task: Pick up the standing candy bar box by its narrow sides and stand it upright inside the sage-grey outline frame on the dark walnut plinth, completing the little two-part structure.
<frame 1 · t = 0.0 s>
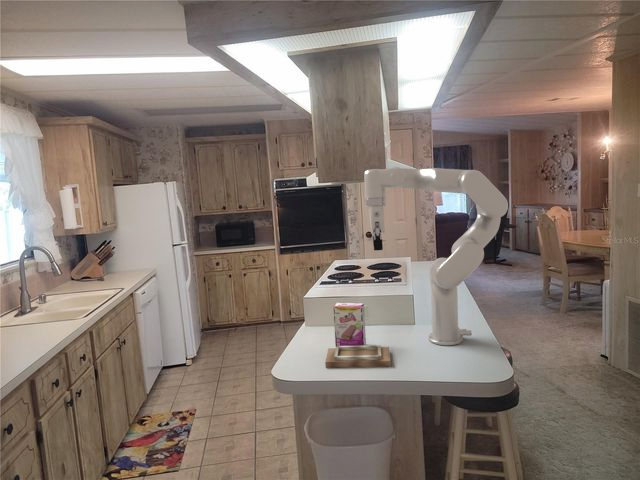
hand: (377, 248, 163), 37 cm above the countertop, tool pointing down, fingers open, 9 cm apart
walnut plinth: (358, 359, 152), on the countertop
candy bar box: (351, 346, 165), on the countertop
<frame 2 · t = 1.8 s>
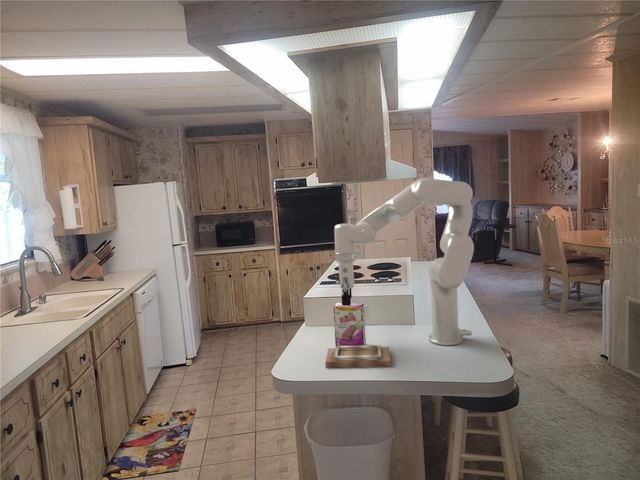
hand: (346, 301, 163), 18 cm above the countertop, tool pointing down, fingers open, 9 cm apart
nothing on the countertop moved.
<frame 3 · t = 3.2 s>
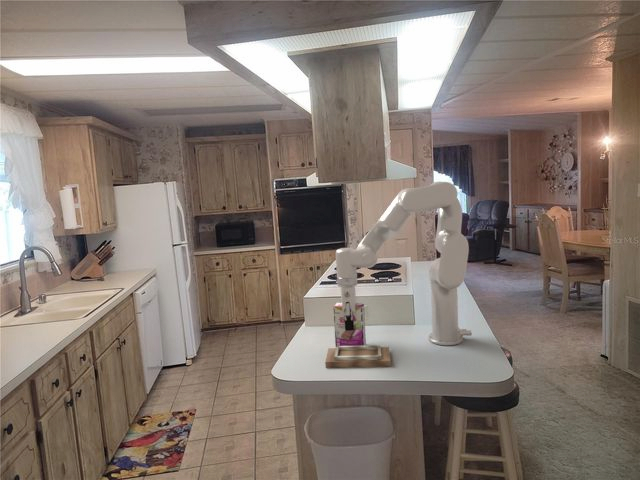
hand: (349, 326, 164), 8 cm above the countertop, tool pointing down, fingers closed on candy bar box, 5 cm apart
candy bar box: (351, 346, 165), on the countertop, touching gripper
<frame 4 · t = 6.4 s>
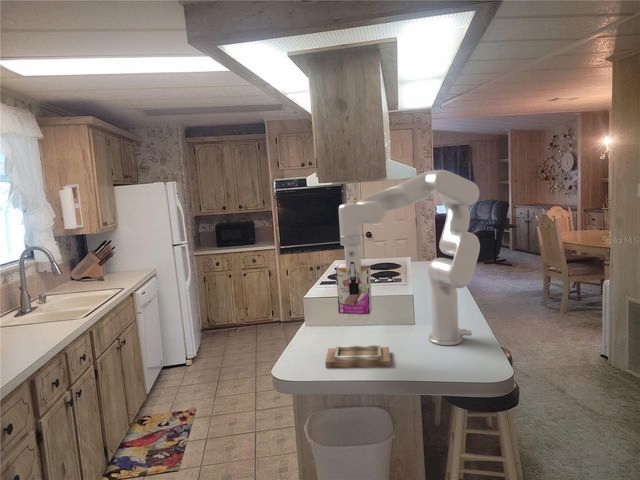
hand: (354, 291, 149), 25 cm above the countertop, tool pointing down, fingers closed on candy bar box, 5 cm apart
candy bar box: (355, 313, 150), point 17 cm above the countertop, touching gripper
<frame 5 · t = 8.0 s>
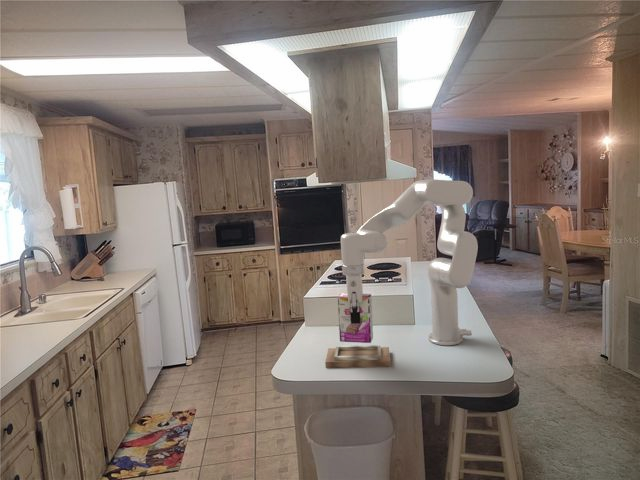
hand: (355, 319, 150), 15 cm above the countertop, tool pointing down, fingers closed on candy bar box, 5 cm apart
candy bar box: (356, 341, 151), point 7 cm above the countertop, touching gripper
when the fingers open (12 cm above the countertop, at t = 9.4 s): candy bar box drops 2 cm, point 2 cm above the countertop.
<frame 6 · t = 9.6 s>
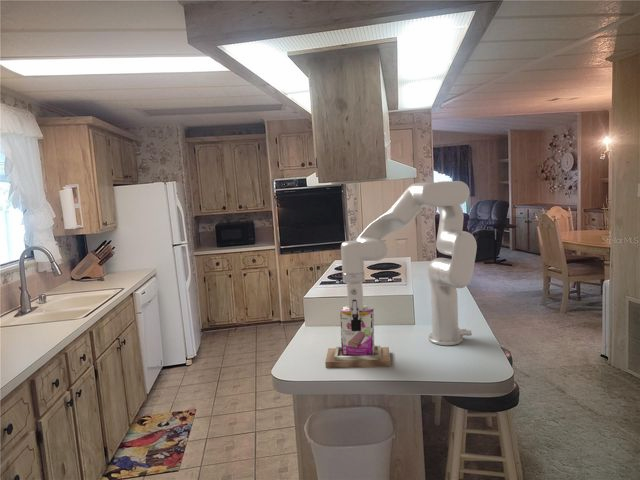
hand: (356, 326, 151), 12 cm above the countertop, tool pointing down, fingers open, 6 cm apart
candy bar box: (358, 354, 152), point 2 cm above the countertop, touching gripper
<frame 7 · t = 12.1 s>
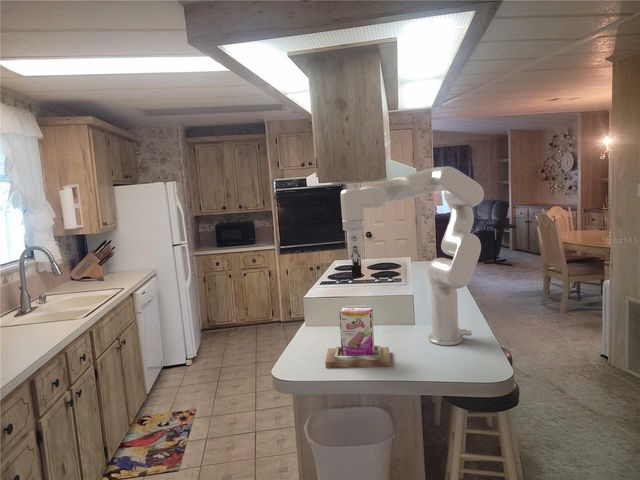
hand: (357, 273, 151), 30 cm above the countertop, tool pointing down, fingers open, 9 cm apart
candy bar box: (358, 355, 152), point 2 cm above the countertop, touching walnut plinth
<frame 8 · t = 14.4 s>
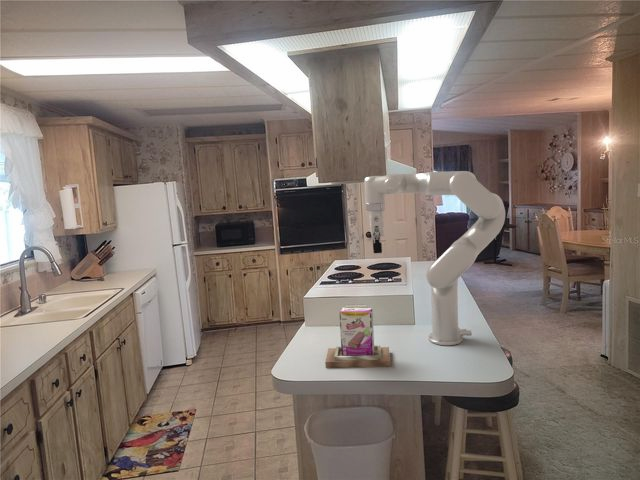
hand: (377, 250, 171), 34 cm above the countertop, tool pointing down, fingers open, 9 cm apart
nothing on the countertop moved.
at the end: candy bar box 0.2 cm off-centre on the walnut plinth, point 1.8 cm above the walnut plinth's base; candy bar box tilted 0°; the gripper is holding nothing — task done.
